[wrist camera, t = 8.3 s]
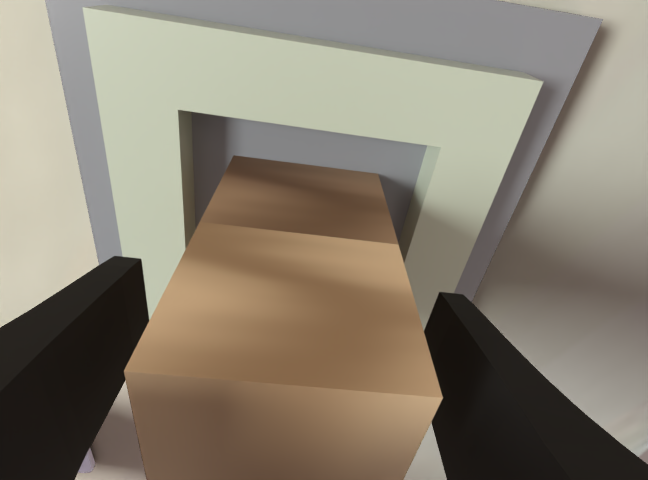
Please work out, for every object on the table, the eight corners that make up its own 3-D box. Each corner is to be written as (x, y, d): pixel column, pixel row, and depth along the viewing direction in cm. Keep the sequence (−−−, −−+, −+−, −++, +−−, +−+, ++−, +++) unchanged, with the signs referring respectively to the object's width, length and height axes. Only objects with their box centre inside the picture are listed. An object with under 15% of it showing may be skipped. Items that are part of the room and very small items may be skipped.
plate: (125, 325, 17) (101, 366, 16) (53, -77, 10) (-9, -91, 8) (433, 355, 19) (445, 396, 17) (581, 16, 11) (633, 23, 9)
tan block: (232, 271, 15) (155, 519, 8) (233, 155, 12) (123, 370, 5) (352, 283, 15) (377, 531, 8) (377, 173, 12) (443, 397, 6)
